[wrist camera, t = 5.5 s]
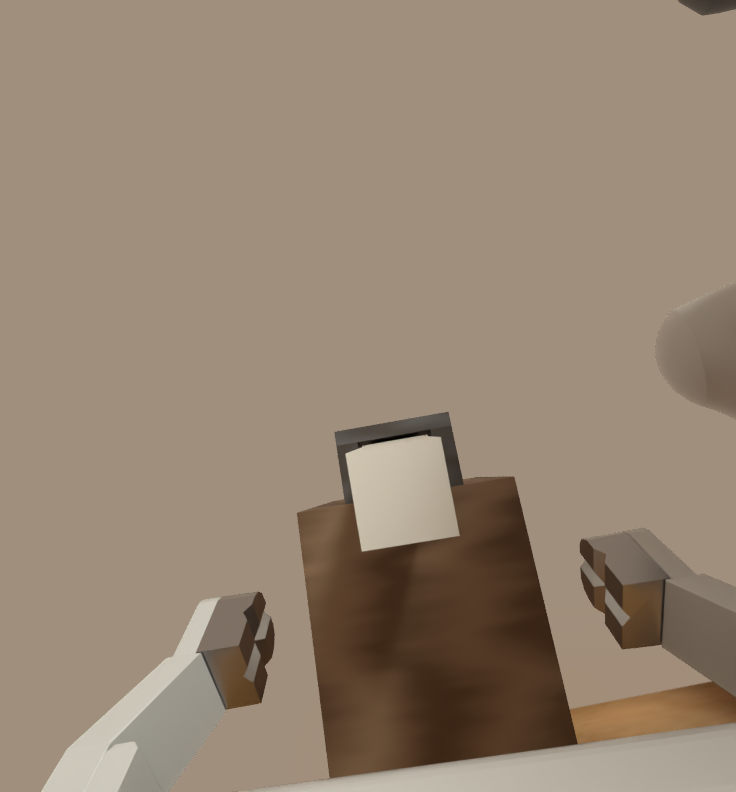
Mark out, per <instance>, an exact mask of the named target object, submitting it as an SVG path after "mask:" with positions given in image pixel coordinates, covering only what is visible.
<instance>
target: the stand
mask: <svg viewBox="0 0 736 792" xmlns="http://www.w3.org/2000/svg"><path fill="white" fill-rule="evenodd" d="M426 434H428V436H433V437H441V441H442V446H443V451H444V456H445V462H446V467H447V472H448V477H449V482H450V488H451V493H452V498H453V503H454V509H455V514H456V519H457V524H458V529H459V535H460V536H456V537H449V538H443V539H437V540H431V541H425V542H418V543H412V544H406V545H400V546H394V547H387V548H381V549H375V550H369V551H363V552H362V550H361V544H360V538H359V532H358V526H357V520H356V514H355V508H354V502H353V496H352V490H351V484H350V478H349V472H348V466H347V460H346V453H348V452H351V451H354V450H356V449H359V448H361V447H362V446H363V445H369V444H373V443H379V442H385V441H390V440H396V439H402V438H408V437H413V436H421V435H426ZM335 438H336V445H337V452H338V459H339V465H340V472H341V478H342V486H343V492H344V500H339V501H333V502H330V503H327V504H323V505H320V506H317V507H314V508H311V509H308V510H305V511H302V512H298V513H297V517H298V524H299V533H300V541H301V549H302V558H303V565H304V573H305V582H306V590H307V597H308V606H309V614H310V621H311V630H312V638H313V646H314V655H315V663H316V671H317V679H318V687H319V695H320V703H321V711H322V719H323V727H324V735H325V743H326V751H327V759H328V767H329V776H330V778H337V777H344V776H351V775H358V774H366V773H373V772H380V771H387V770H395V769H402V768H409V767H417V766H424V765H431V764H438V763H446V762H453V761H460V760H468V759H475V758H482V757H489V756H497V755H504V754H511V753H518V752H526V751H533V750H540V749H547V748H554V747H561V746H568V745H576V744H578V743H577V739H576V735H575V731H574V727H573V722H572V718H571V714H570V710H569V706H568V701H567V697H566V693H565V689H564V684H563V680H562V676H561V672H560V668H559V664H558V659H557V655H556V651H555V647H554V642H553V639H552V634H551V630H550V625H549V622H548V617H547V613H546V609H545V604H544V600H543V596H542V592H541V588H540V583H539V579H538V575H537V571H536V567H535V562H534V558H533V554H532V550H531V546H530V541H529V537H528V533H527V529H526V524H525V520H524V516H523V512H522V507H521V504H520V499H519V495H518V491H517V486H516V482H515V478H514V477H475V478H470V479H462V474H461V470H460V465H459V460H458V455H457V451H456V446H455V441H454V437H453V432H452V427H451V423H450V417H449V413H448V412H445V413H439V414H433V415H428V416H422V417H417V418H411V419H405V420H399V421H394V422H388V423H383V424H377V425H372V426H366V427H361V428H354V429H349V430H343V431H337V432H335Z"/></svg>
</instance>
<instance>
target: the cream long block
mask: <svg viewBox="0 0 736 792" xmlns="http://www.w3.org/2000/svg"><path fill="white" fill-rule="evenodd" d="M346 460H347V466H348V472H349V478H350V484H351V490H352V496H353V502H354V508H355V514H356V520H357V526H358V532H359V538H360V544H361V550H362V552H363V551H369V550H375V549H381V548H387V547H394V546H400V545H406V544H412V543H418V542H425V541H431V540H437V539H443V538H449V537H456V536H460V535H459V529H458V524H457V519H456V514H455V509H454V503H453V498H452V493H451V488H450V482H449V477H448V472H447V467H446V462H445V456H444V451H443V446H442V441H441V437H433V436H413V437H408V438H402V439H396V440H390V441H385V442H379V443H373V444H369V445H367V446H364V447H361V448H359V449H356V450H354V451H351V452H348V453H346Z"/></svg>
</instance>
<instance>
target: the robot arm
mask: <svg viewBox="0 0 736 792" xmlns="http://www.w3.org/2000/svg"><path fill="white" fill-rule="evenodd" d="M678 1H679V2H680V3H681V4H683V5H685V6H686V7H688V8H690V9H692V10H693V11H695V12H697V13H698V14H700V15H709V14H715V13H721V12H725V11H729V10H734V9H736V0H678ZM655 351H656V352H655V353H656V360H657V364H658V367H659V370H660V372H661V374H662V376H663V377H664V379H665V380H666V381H667V383H668V384H669V385H670V386H671V387H672V388H673V389H674V390H675V391H676V392H677V393H679V394H680V395H681V396H683V397H684V398H686V399H688V400H689V401H691V402H693V403H695V404H698V405H701V406H704V407H707V408H710V409H713V410H716V411H718V412H721V413H723V414H726V415H728V416H730V417H732V418H734V419H736V282H735V283H731V284H728V285H726V286H723V287H721V288H719V289H716V290H714V291H712V292H709V293H707V294H705V295H703V296H701V297H698V298H696V299H694V300H692V301H690V302H688V303H686V304H684V305H682V306H679V307H677V308H675V309H674V310H672V311H671V312H670V313H669V314H668V316H667V317H666V318H665V320H664V322H663V323H662V325H661V327H660V330H659V332H658V336H657V339H656V346H655ZM580 553H581V555H582V556H583V557H584V559H585V562H584V563H583V564H582V565H581V567H580V569H581V579H582V582H583V586H584V590H585V592H586V594H587V596H588V598H589V600H590V601H591V603H592V605H593V606H594V607H595V608H596V609H598V610H599V611H601V612H603V613H604V614H605V624H606V626H607V627H608V629H609V630H610V632H611V633H612V635H613V636H614V638H615V639H616V641H617V642H618V644H619V645H620V647H621V648H622V649H630V648H638V647H647V646H655V645H662V647H663V648H665V649H666V650H667V651H669V652H671V653H672V654H673V655H675V656H676V657H678V658H679V659H681V660H682V661H684V662H685V663H686V664H688V665H689V666H691V667H692V668H694V669H695V670H697V671H698V672H700V673H701V674H703V675H704V676H705V677H707V678H708V679H710V680H711V681H713V682H714V683H716V684H717V685H719V686H720V687H722V688H723V689H724V690H726V691H727V692H729V693H730V694H732V695H733V696H735V697H736V587H734V586H732V585H730V584H727V583H725V582H722V581H720V580H717V579H715V578H712V577H710V576H708V575H705V574H700V575H697V574H696V573H694V572H693V571H692V570H691V569H690V568H689V567H688V566H687V565H686V564H685V563H684V562H683V561H682V560H680V559H679V558H678V557H677V556H676V555H675V554H674V553H673V552H672V551H671V550H670V549H669V548H668V547H667V546H666V545H665V544H663V543H662V542H661V541H660V540H659V539H658V538H657V537H656V536H655V535H654V534H653V533H652V532H651V531H649V530H648V529H646V528H639V529H634V530H628V531H623V532H619V533H614V534H608V535H602V536H596V537H590V538H585V539H581V542H580ZM265 604H266V602H265V600H264V597H263V595H262V593H260V592H253V593H246V594H238V595H232V596H224V597H220V598H212V599H205V600H203V601H201V602H200V603H199V604H198V606H197V608H196V610H195V612H194V614H193V616H192V618H191V620H190V623H189V625H188V627H187V629H186V631H185V633H184V635H183V637H182V639H181V641H180V643H179V645H178V647H177V649H176V652H175V654H174V656H173V657H170V658H166V659H165V660H164V661H163V662H162V663H161V664H160V665H159V666H158V667H157V668H155V669H154V670H153V671H152V672H151V673H150V674H149V675H148V676H147V677H146V678H145V679H143V680H142V681H141V682H140V683H139V684H138V685H137V686H136V687H135V688H133V689H132V690H131V691H130V692H129V693H128V694H127V695H126V696H125V697H124V698H123V699H122V700H121V701H119V702H118V703H117V704H116V705H115V706H114V707H113V708H112V709H111V710H109V712H107V713H106V714H105V715H104V716H103V717H102V718H101V719H100V720H98V722H96V723H95V724H94V725H93V726H92V727H91V728H90V729H89V730H87V731H86V732H85V733H84V734H83V735H82V736H81V737H80V738H79V739H78V740H76V742H74V743H73V744H72V745H71V746H70V747H69V748H68V749H67V750H66V752H65V753H64V755H63V757H62V758H61V760H60V762H59V763H58V765H57V766H56V768H55V770H54V771H53V773H52V775H51V776H50V778H49V780H48V781H47V783H46V785H45V786H44V788H43V790H42V791H41V792H169V791H170V790H171V788H172V787H173V785H174V784H175V783H176V781H177V780H178V778H179V777H180V776H181V774H182V773H183V772H184V770H185V769H186V767H187V766H188V764H189V763H190V762H191V760H192V759H193V758H194V756H195V755H196V753H197V752H198V751H199V749H200V748H201V746H202V745H203V744H204V742H205V741H206V739H207V738H208V737H209V735H210V734H211V732H212V731H213V730H214V728H215V727H216V726H217V724H218V723H219V721H220V720H221V718H222V717H223V716H224V714H225V713H226V709H232V708H237V707H243V706H248V705H254V704H259V703H261V702H262V697H263V693H264V689H265V685H266V681H267V676H268V675H267V672H266V669H265V665H266V664H267V663H268V662H269V660H270V659H271V658H272V654H273V650H274V627H273V622H272V620H271V617H270V616H269V615H268V614H266V613H265V612H264V608H265ZM235 792H736V722H734V723H727V724H720V725H712V726H705V727H698V728H691V729H683V730H676V731H669V732H662V733H654V734H647V735H640V736H633V737H626V738H619V739H611V740H604V741H597V742H590V743H583V744H576V745H568V746H561V747H554V748H547V749H540V750H533V751H526V752H518V753H511V754H504V755H497V756H489V757H482V758H475V759H468V760H460V761H453V762H446V763H438V764H431V765H424V766H417V767H409V768H402V769H395V770H387V771H380V772H373V773H366V774H358V775H351V776H344V777H337V778H329V779H322V780H316V781H308V782H301V783H293V784H286V785H279V786H272V787H264V788H257V789H251V790H243V791H235Z"/></svg>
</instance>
